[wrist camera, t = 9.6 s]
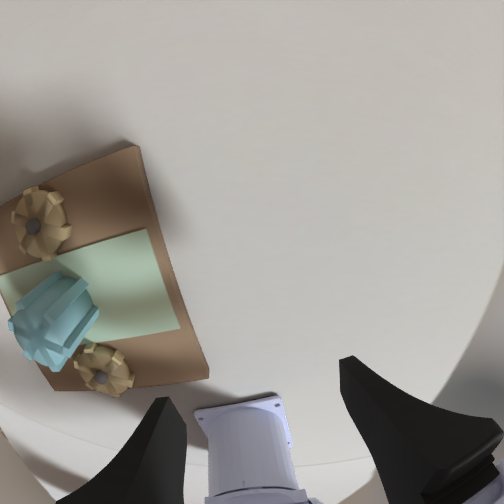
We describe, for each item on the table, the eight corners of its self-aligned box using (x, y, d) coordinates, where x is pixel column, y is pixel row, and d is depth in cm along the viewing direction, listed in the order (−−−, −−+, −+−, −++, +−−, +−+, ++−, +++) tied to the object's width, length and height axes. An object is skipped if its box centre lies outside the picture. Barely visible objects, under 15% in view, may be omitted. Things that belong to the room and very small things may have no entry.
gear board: (209, 368, 21) (208, 392, 18) (59, 383, 21) (48, 401, 18) (139, 146, 16) (124, 144, 13) (-15, 218, 15) (-36, 226, 13)
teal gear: (107, 326, 18) (81, 370, 13) (63, 333, 18) (34, 372, 13) (80, 263, 16) (42, 296, 11) (37, 277, 16) (-2, 308, 11)
